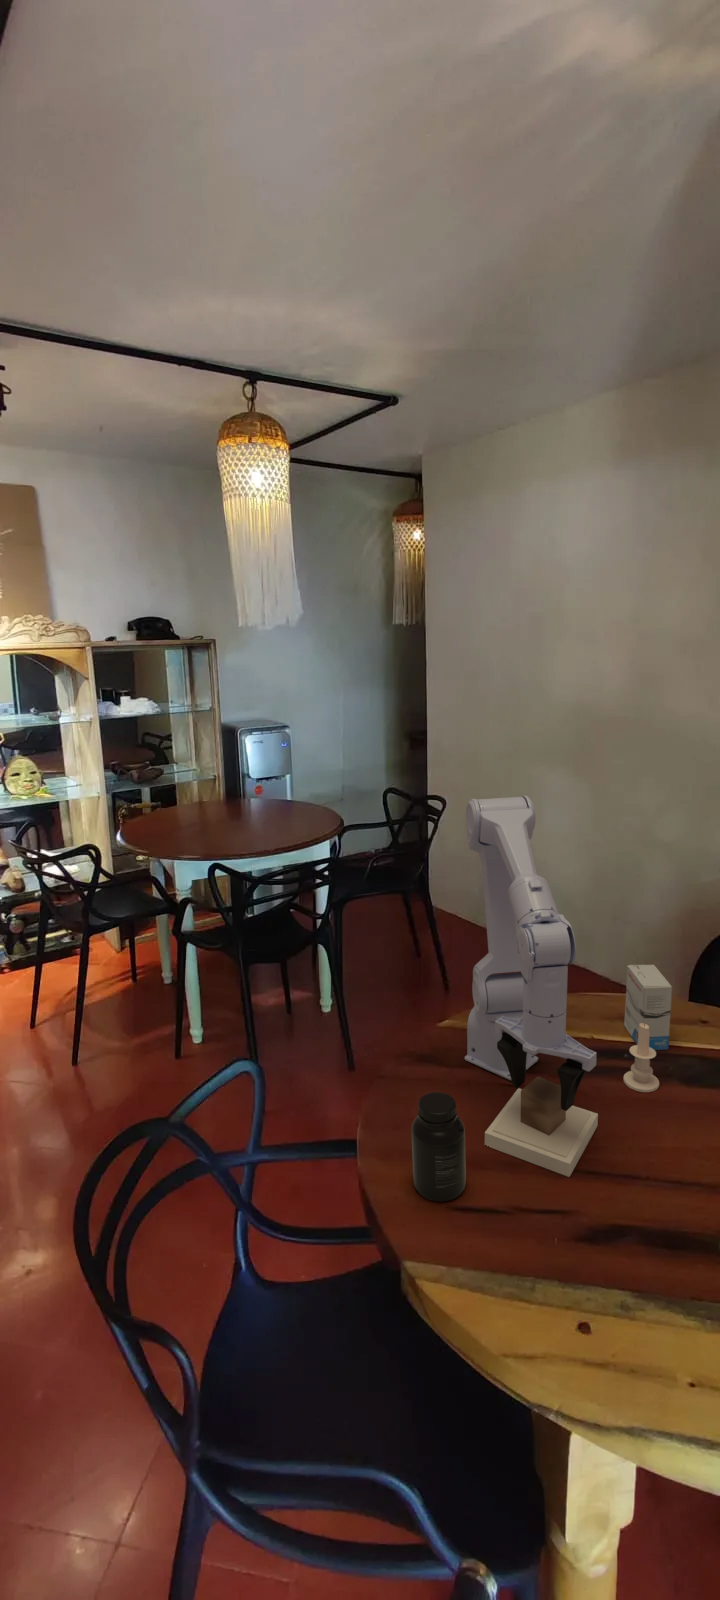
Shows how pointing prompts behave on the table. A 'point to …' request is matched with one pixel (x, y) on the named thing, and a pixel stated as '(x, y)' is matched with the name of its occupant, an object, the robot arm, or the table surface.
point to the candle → (642, 1064)
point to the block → (542, 1106)
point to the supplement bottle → (438, 1148)
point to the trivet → (542, 1137)
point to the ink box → (648, 1004)
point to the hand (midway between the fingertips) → (542, 1095)
